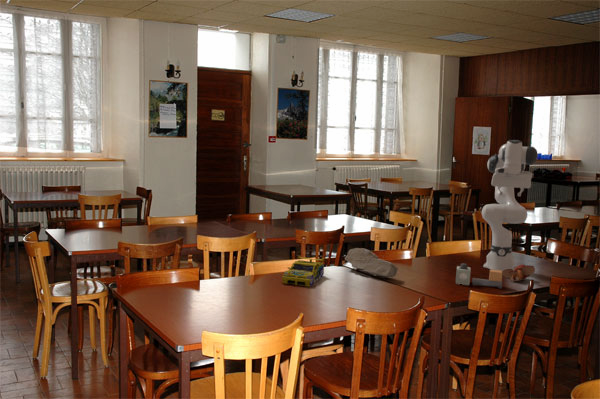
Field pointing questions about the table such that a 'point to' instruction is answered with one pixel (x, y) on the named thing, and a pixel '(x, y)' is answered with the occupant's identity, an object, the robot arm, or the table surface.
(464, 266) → the plunger
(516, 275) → the figurine
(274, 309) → the table surface
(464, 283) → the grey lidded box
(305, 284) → the toy car
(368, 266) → the stone block
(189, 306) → the table surface
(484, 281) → the rail
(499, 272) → the carriage
